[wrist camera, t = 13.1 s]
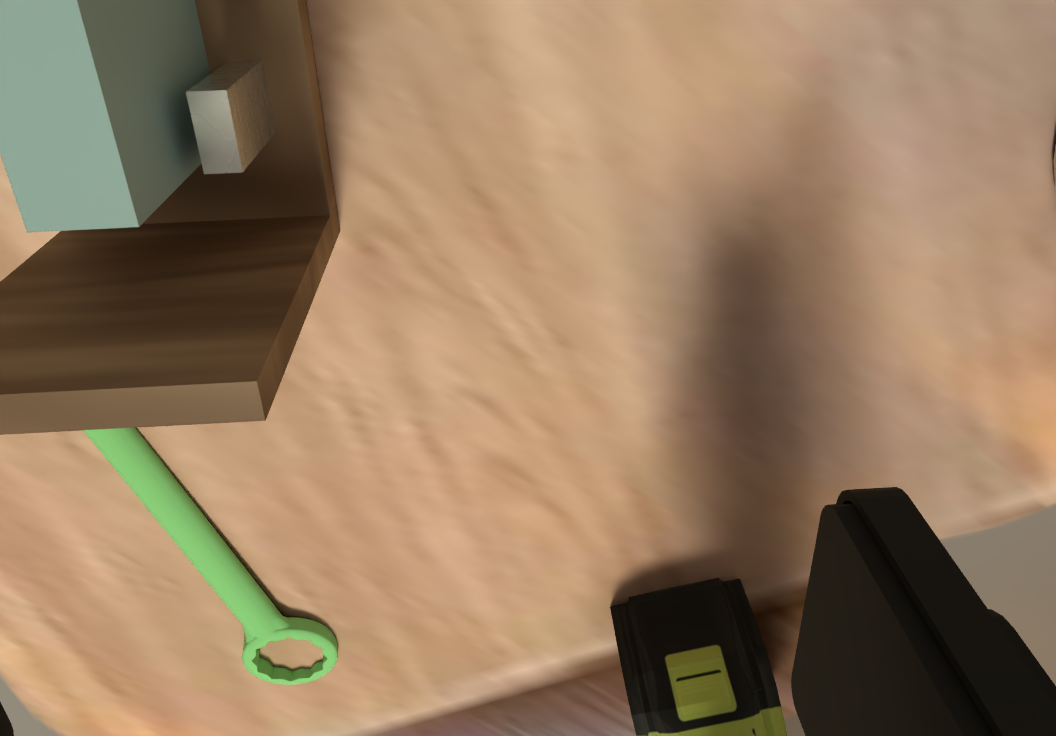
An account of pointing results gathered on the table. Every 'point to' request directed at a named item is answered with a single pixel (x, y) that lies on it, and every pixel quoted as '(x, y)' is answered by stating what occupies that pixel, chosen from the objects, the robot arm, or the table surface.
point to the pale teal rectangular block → (97, 108)
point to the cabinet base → (188, 257)
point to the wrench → (213, 558)
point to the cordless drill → (696, 663)
